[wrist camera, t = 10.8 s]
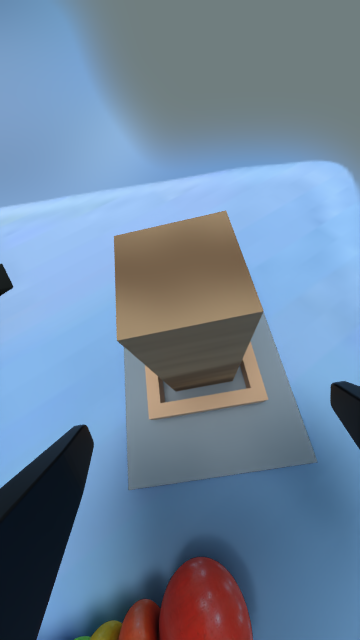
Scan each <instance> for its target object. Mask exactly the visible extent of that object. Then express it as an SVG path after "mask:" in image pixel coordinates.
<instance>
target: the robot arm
mask: <svg viewBox="0 0 360 640" xmlns="http://www.w3.org/2000/svg"><path fill="white" fill-rule="evenodd" d="M330 401H331V406H332V408H333V410H334V412H335V413H336V415H337V416H338V418H339V419H340V421H341V422H342V424H343V425H344V427H345V428H346V430H347V431H348V433H349V434H350V436H351V437H352V439H353V440H354V442H355V443H356V445H357V446H358V448H359V449H360V386H357V385H354V384H352V383H349V382H346V381H341V382H335V383H332V384H331V400H330ZM93 447H94V442H93V439H92V436H91V434H90V432H89V429H88V427H87V426H86V425H78V426H74V427H73V428H71V429H70V430H69V431H68V432H67V433H66V434H64V435H63V436H62V437H61V438H60V439H58V440H57V441H56V442H55V443H54V444H52V445H51V446H50V447H49V448H48V449H47V450H45V451H44V452H43V453H42V454H41V455H39V456H38V457H37V458H36V459H35V460H34V461H32V462H31V463H30V464H29V465H28V466H26V467H25V468H24V469H23V470H22V471H20V472H19V473H18V474H17V475H16V476H15V477H13V478H12V479H11V480H10V481H9V482H7V483H6V484H5V485H4V486H3V487H2V488H0V640H36V639H37V636H38V633H39V630H40V627H41V623H42V620H43V617H44V614H45V611H46V608H47V605H48V602H49V598H50V595H51V592H52V589H53V586H54V583H55V580H56V577H57V573H58V570H59V567H60V564H61V561H62V558H63V555H64V552H65V548H66V545H67V542H68V539H69V536H70V533H71V530H72V527H73V523H74V520H75V517H76V514H77V511H78V508H79V505H80V502H81V498H82V495H83V491H84V487H85V483H86V479H87V474H88V470H89V465H90V461H91V456H92V452H93Z"/></svg>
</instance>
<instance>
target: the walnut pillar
mask: <svg viewBox="0 0 360 640" xmlns="http://www.w3.org/2000/svg"><path fill="white" fill-rule="evenodd" d="M114 252H115V288H116V324H117V341H118V342H119V343H120V344H121V345H123V346H124V347H125V348H126V349H127V350H128V351H129V352H131V353H132V354H133V355H134V356H135V357H136V358H138V359H139V360H140V361H141V362H142V363H143V364H144V365H146V366H147V367H148V368H149V369H150V370H151V371H153V372H154V373H155V374H156V375H157V376H158V377H159V378H161V379H162V380H163V381H164V382H165V383H166V384H167V385H169V386H170V387H171V388H172V389H173V390H174V391H182V390H187V389H193V388H198V387H204V386H209V385H215V384H220V383H225V382H231V381H233V379H234V377H235V375H236V372H237V370H238V368H239V366H240V363H241V361H242V359H243V357H244V354H245V352H246V350H247V348H248V345H249V343H250V341H251V339H252V336H253V334H254V332H255V330H256V327H257V325H258V323H259V320H260V318H261V316H262V314H263V308H262V306H261V303H260V300H259V298H258V295H257V292H256V290H255V287H254V284H253V282H252V279H251V276H250V274H249V271H248V268H247V266H246V263H245V260H244V258H243V255H242V252H241V250H240V247H239V244H238V241H237V239H236V236H235V233H234V231H233V228H232V225H231V223H230V220H229V217H228V215H227V212H226V211H222V212H218V213H214V214H209V215H205V216H200V217H196V218H192V219H187V220H183V221H178V222H174V223H170V224H165V225H161V226H156V227H152V228H148V229H143V230H139V231H135V232H130V233H126V234H121V235H117V236H114Z"/></svg>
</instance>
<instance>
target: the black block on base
mask: <svg viewBox="0 0 360 640" xmlns="http://www.w3.org/2000/svg"><path fill="white" fill-rule="evenodd" d="M12 288H13V285H12V283H11V281H10V279H9V277H8V275H7V273H6V271H5V269H4V267H3V264H0V296H1V295H2V294H4V293H5V292H7V291H9V290H10V289H12Z"/></svg>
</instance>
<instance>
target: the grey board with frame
mask: <svg viewBox="0 0 360 640" xmlns="http://www.w3.org/2000/svg"><path fill="white" fill-rule="evenodd" d="M248 271H249V270H248ZM249 274H250V273H249ZM124 365H125V396H126V428H127V459H128V490H133V489H140V488H147V487H154V486H161V485H167V484H174V483H181V482H188V481H194V480H201V479H208V478H215V477H221V476H228V475H235V474H242V473H249V472H255V471H262V470H269V469H276V468H282V467H289V466H296V465H303V464H310V463H316V462H317V459H316V456H315V454H314V451H313V448H312V445H311V442H310V440H309V437H308V434H307V431H306V429H305V426H304V423H303V420H302V418H301V415H300V412H299V409H298V406H297V404H296V401H295V398H294V395H293V393H292V390H291V387H290V384H289V381H288V379H287V376H286V373H285V370H284V368H283V365H282V362H281V359H280V356H279V354H278V351H277V348H276V345H275V343H274V340H273V337H272V334H271V331H270V329H269V326H268V323H267V320H266V318H265V315H264V312H263V314H262V316H261V318H260V320H259V323H258V325H257V327H256V330H255V332H254V334H253V336H252V339H251V341H250V343H249V345H248V348H247V350H246V352H245V354H244V357H243V359H242V361H241V363H240V366H239V368H238V370H237V372H236V375H235V377H234V379H233V381H231V382H225V383H220V384H215V385H209V386H204V387H198V388H193V389H187V390H182V391H174V390H173V389H172V388H171V387H170V386H169V385H167V384H166V383H165V382H164V381H163V380H162V379H161V378H159V377H158V376H157V375H156V374H155V373H154V372H153V371H151V370H150V369H149V368H148V367H147V366H146V365H144V364H143V363H142V362H141V361H140V360H139V359H138V358H136V357H135V356H134V355H133V354H132V353H131V352H129V351H128V350H127V349H126V348H125V347H124Z"/></svg>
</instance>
